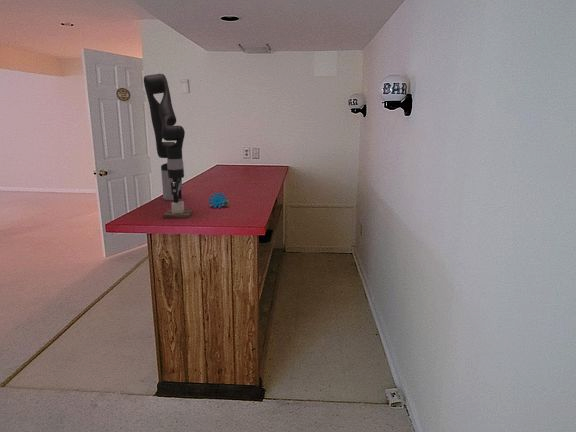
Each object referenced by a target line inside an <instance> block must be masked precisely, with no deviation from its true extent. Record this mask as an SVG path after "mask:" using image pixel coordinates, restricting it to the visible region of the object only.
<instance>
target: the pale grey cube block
mask: <svg viewBox="0 0 576 432" xmlns="http://www.w3.org/2000/svg"><path fill="white" fill-rule="evenodd" d="M170 204H171V205H170V206H171V210H172V214H173V213H183V212H184V209H185V202H184V201H183V200H181V201H180V200H179V202H178V203H174V200H172V202H171V203H170Z"/></svg>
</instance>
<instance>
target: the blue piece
mask: <svg viewBox="0 0 576 432" xmlns="http://www.w3.org/2000/svg"><path fill="white" fill-rule="evenodd" d="M229 200H230V199H229ZM229 200H228V198H227V196H226V195H225V193H223V194H222V193H221V192H214V194H210V197H209V198H208V205H210V207H211V208H212V207H213V209H217V207H218V209H221V208H222V207H228V204H229V203H230V201H229Z"/></svg>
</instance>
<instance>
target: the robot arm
mask: <svg viewBox="0 0 576 432" xmlns="http://www.w3.org/2000/svg"><path fill="white" fill-rule="evenodd" d="M143 85H144V90H145V93H146V97H147V101H148V106H149V111H150V119H151V123H152V128H153V132H154V138H155V146H156V153H157V156H158V157H159V158H161V159H167V161H166V162H167V163H163V164H161V165H160V168H161V169H160V173H161V181H162V182H161V184H162V196H163V197H162V198H163V200H165V201H174V203H178V202H179V201H180V200H181V199H182V198H183V195H182V190H183V182H182V179H183V178H184V177H185V170H184V169H185V168H184V161H183V160H184V159H183V145H184V144H183V143H184V139H185V129H184V127H183V126H182V125H177V124H176V123H177V117H176V113H175V111H174V107H173V104H172V99H171V98H172V97H171V92H170V88H169V87H170V86H169V83H168V80H167V77H166V75H165V74H164V73H155V74H154V73H153V74H148V75H145V76H143ZM159 94H162V95H163V96H162V98H161V101H160V102H159V101H158V100H157V99H156V97H155V95H159ZM163 140H164V141H163Z"/></svg>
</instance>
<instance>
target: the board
mask: <svg viewBox="0 0 576 432" xmlns="http://www.w3.org/2000/svg"><path fill="white" fill-rule="evenodd" d="M192 214H193V209H191V208H190V209H187V208H184V212H183V213H173V214H172V209H168V210H166V212H165V213H164V214H163V215H162V217H163V218H162V219H189V218H190V216H192Z"/></svg>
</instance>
